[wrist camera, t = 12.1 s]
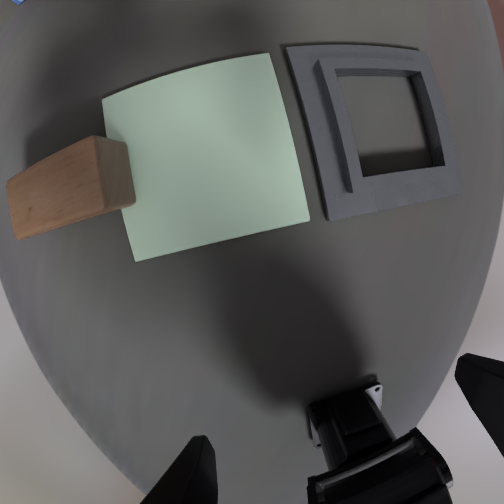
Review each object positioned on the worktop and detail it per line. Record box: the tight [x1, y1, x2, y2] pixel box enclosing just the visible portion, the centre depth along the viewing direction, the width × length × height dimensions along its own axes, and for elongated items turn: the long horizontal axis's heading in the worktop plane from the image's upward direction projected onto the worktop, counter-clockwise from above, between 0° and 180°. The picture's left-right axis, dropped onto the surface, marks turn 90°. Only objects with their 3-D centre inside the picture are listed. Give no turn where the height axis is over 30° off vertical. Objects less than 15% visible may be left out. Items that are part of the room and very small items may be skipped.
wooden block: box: [6, 135, 136, 240], centre depth 14 cm, size 4×4×8 cm
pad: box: [102, 53, 310, 262], centre depth 16 cm, size 11×11×1 cm
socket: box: [285, 45, 462, 221], centre depth 15 cm, size 12×12×2 cm
